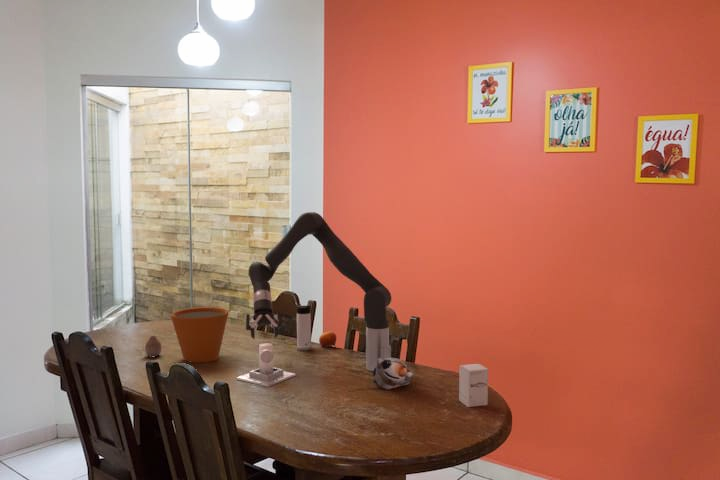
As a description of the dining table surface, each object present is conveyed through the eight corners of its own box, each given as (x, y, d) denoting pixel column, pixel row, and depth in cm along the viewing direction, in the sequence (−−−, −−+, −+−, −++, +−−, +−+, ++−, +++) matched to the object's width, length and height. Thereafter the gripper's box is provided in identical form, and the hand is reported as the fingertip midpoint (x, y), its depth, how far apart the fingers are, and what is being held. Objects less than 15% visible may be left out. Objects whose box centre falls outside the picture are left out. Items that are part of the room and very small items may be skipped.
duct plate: (295, 375, 237) (295, 368, 237) (268, 386, 224) (268, 379, 223) (265, 369, 246) (264, 362, 245) (236, 379, 232) (236, 372, 232)
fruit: (332, 346, 275) (325, 330, 276) (320, 353, 279) (314, 337, 281) (343, 343, 281) (336, 327, 283) (332, 349, 285) (325, 333, 287)
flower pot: (160, 361, 257) (158, 315, 255) (199, 348, 278) (198, 305, 276) (203, 369, 246) (201, 320, 244) (240, 355, 267) (239, 310, 265)
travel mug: (309, 351, 273) (308, 307, 271) (295, 350, 274) (294, 306, 272) (313, 347, 279) (312, 304, 277) (299, 346, 280) (298, 304, 278)
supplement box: (468, 408, 202) (468, 370, 200) (458, 400, 209) (458, 364, 208) (488, 405, 204) (488, 368, 203) (477, 398, 211) (478, 362, 210)
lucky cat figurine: (414, 381, 229) (421, 354, 222) (404, 402, 220) (410, 375, 212) (377, 366, 233) (383, 339, 226) (366, 387, 224) (371, 360, 216)
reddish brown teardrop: (164, 354, 268) (163, 334, 268) (157, 358, 261) (157, 338, 261) (149, 353, 269) (148, 334, 268) (142, 358, 262) (141, 338, 261)
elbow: (259, 373, 237) (258, 343, 236) (272, 372, 238) (272, 342, 237) (260, 380, 228) (259, 349, 227) (274, 379, 229) (273, 348, 228)
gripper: (245, 299, 247) (246, 333, 236) (280, 297, 250) (283, 331, 239) (245, 309, 252) (246, 343, 242) (279, 307, 255) (282, 341, 245)
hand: (264, 337), depth 241 cm, fingers open, 8 cm apart
